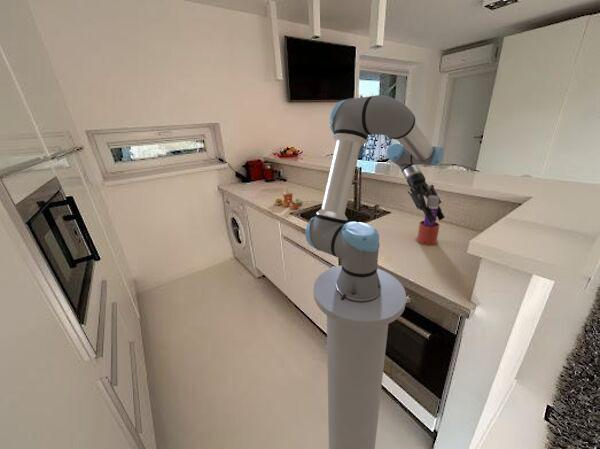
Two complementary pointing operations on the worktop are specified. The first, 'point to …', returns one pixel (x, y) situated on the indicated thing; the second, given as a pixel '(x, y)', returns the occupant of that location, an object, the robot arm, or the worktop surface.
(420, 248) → the worktop surface
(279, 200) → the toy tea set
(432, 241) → the cup
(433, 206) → the container
